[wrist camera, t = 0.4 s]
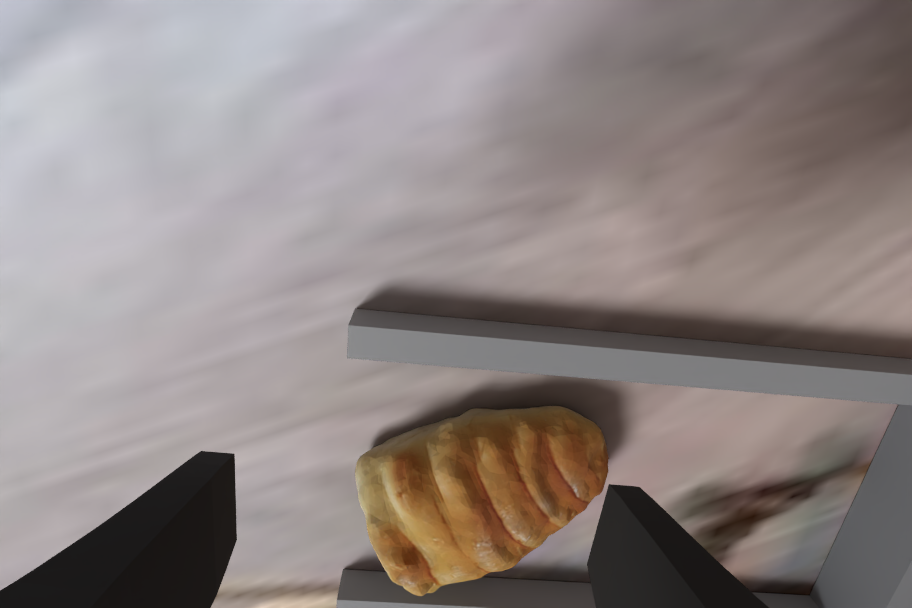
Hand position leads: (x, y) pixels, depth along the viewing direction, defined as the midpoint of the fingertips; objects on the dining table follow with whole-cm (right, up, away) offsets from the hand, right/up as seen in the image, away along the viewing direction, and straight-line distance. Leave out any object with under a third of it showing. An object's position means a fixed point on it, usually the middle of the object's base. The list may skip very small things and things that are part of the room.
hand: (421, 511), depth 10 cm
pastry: (+1, -3, +11) cm, 12 cm away
